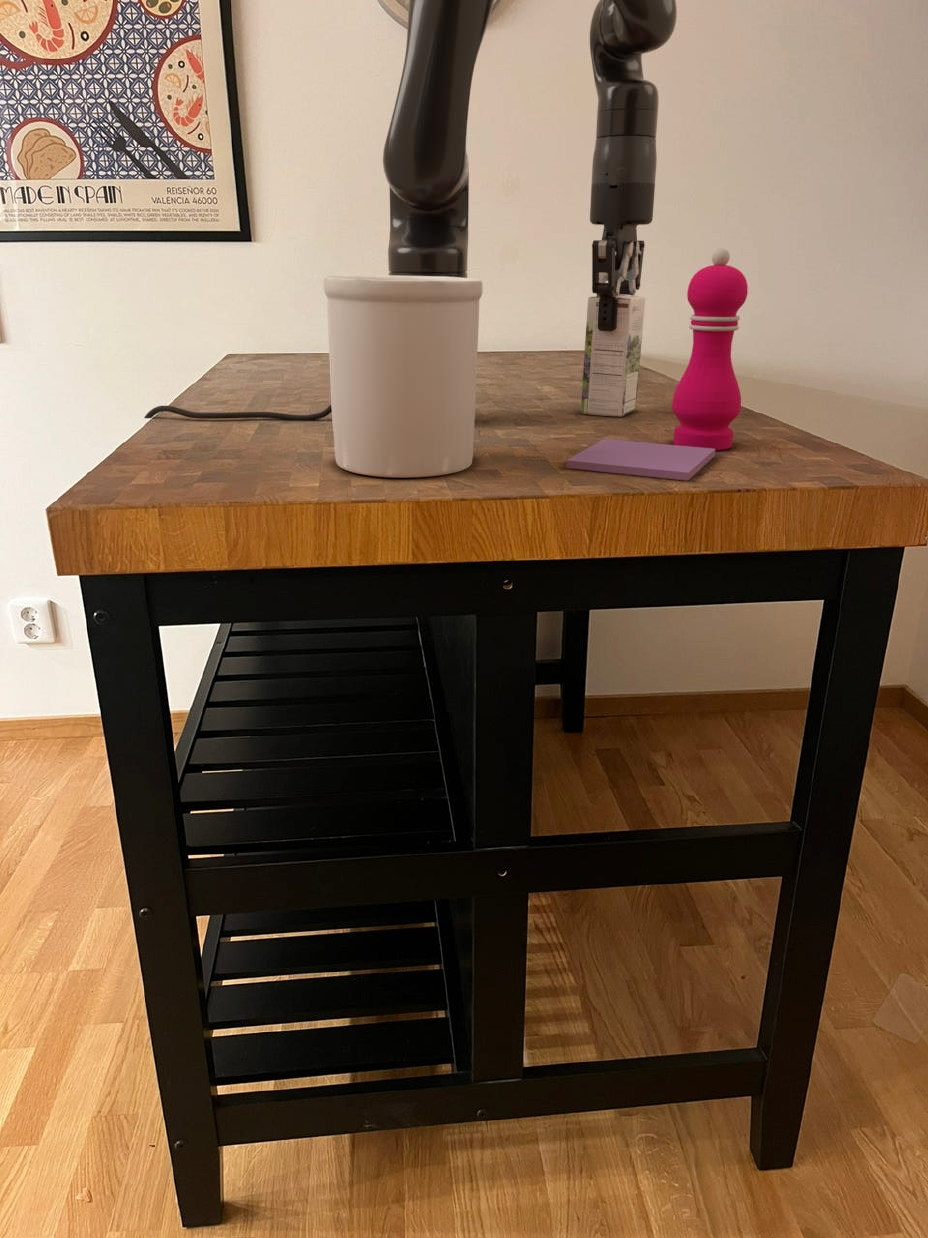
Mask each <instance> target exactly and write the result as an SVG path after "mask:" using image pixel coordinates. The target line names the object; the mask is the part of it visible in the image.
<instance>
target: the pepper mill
mask: <svg viewBox="0 0 928 1238" xmlns="http://www.w3.org/2000/svg"><path fill="white" fill-rule="evenodd" d="M730 258H731V255H730V252H729V250H727V249H725V248H724V247H723V248H721V247H720V248H717V249H715V250H714V251H713V253H712V254H711V263H712V264H713V265H707V266H705V267H703V268H701V269H699V270H698V271H697V272H696V273H694V275H693V276H692V277H691V279H690V282H689V284H688V287H687V292H686V295H687V297H686V298H687V301H688V304H689V305H690V306H691V308H692V310H693V314H692V315H690V316H689V320H691V321H690V324H689V330H692V339H693V340H692V348H691V355H690V358H689V360H688V364H687V367H686V369H685V371H684V372H683V374H682V377H681V378H680V380H679V382H678V384H677V385H676V387H675V390H674V393H673V397H672V400H671V401H672V402H671V410H672V412H673V414H674V416H675V418H677V420H678V421H679V425H678V426H676V427H674V429H673V441H672V442H673V443H672V444H673V445H678V446H689V447H700V448H711V449H715V452H717V451H725V450H728V449H730V448H732V447H733V441H734V440H733V439H734V430H733V429H732V428H731V427H729V426H730V424H731V423H733V421H734V420H735V419H736V418H737V417H738V416H739V415H740V413H741V410H742V395H741V389H740V387H739V383H738V380H737V376H736V375H735V372H734V371H735V370H734V368H733V367H734V366H733V361H732V344H733V339H734V335H735V331H738V330H739V329H740V327H739V321H740V319H741V317H740V316H739V315H737V313H738V311H739V310H740V309H741V308H742V306H743V305H744V304H745V303H746V301H747V300H746V299H747V298H748V293H749V292H748V291H749V290H748V289H749V287H748V282H747V279H746V277H745V274H744V273H743V272H742V271H741V270H739V269H738V268H736V267H734V266H732V265H728V263H729V261H730Z"/></svg>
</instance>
